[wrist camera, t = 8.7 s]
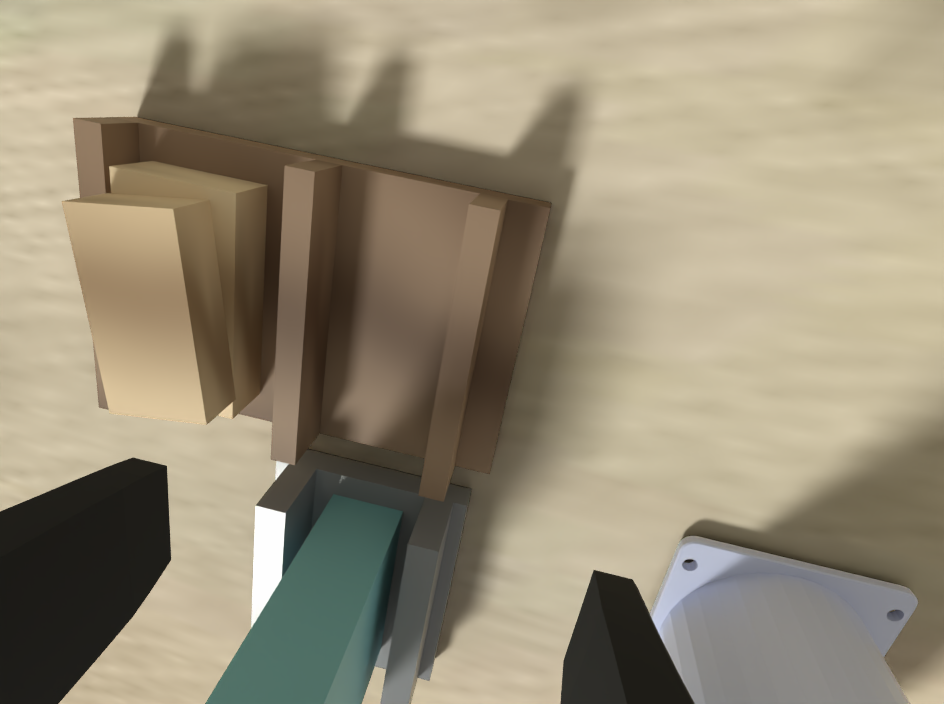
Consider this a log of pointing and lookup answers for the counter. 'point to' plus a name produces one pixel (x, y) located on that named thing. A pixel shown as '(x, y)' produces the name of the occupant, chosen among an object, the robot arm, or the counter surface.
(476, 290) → the rack
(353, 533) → the teal block
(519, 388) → the counter surface
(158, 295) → the offcut top
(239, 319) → the offcut low
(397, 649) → the holder
